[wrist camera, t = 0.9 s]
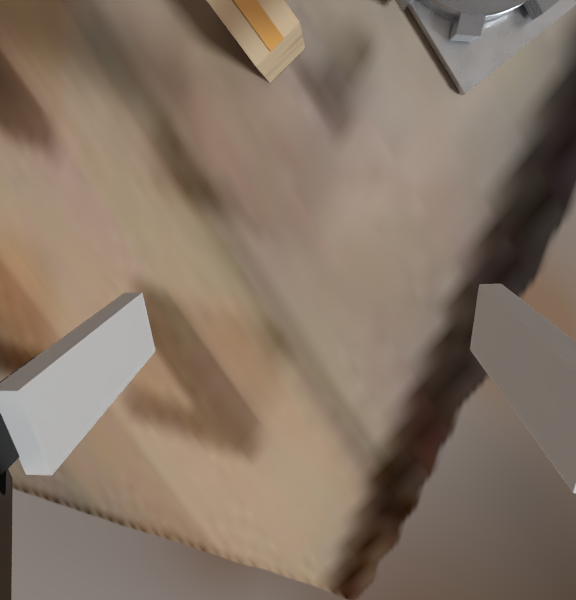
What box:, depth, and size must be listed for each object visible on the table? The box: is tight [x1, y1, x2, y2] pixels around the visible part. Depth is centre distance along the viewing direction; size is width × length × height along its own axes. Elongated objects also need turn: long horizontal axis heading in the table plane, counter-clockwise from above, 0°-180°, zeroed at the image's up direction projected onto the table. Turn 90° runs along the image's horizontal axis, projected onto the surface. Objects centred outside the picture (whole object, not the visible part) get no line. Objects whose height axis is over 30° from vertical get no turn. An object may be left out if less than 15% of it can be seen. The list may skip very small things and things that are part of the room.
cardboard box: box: [207, 0, 305, 83], centre depth 28 cm, size 7×4×7 cm, turn 40°
